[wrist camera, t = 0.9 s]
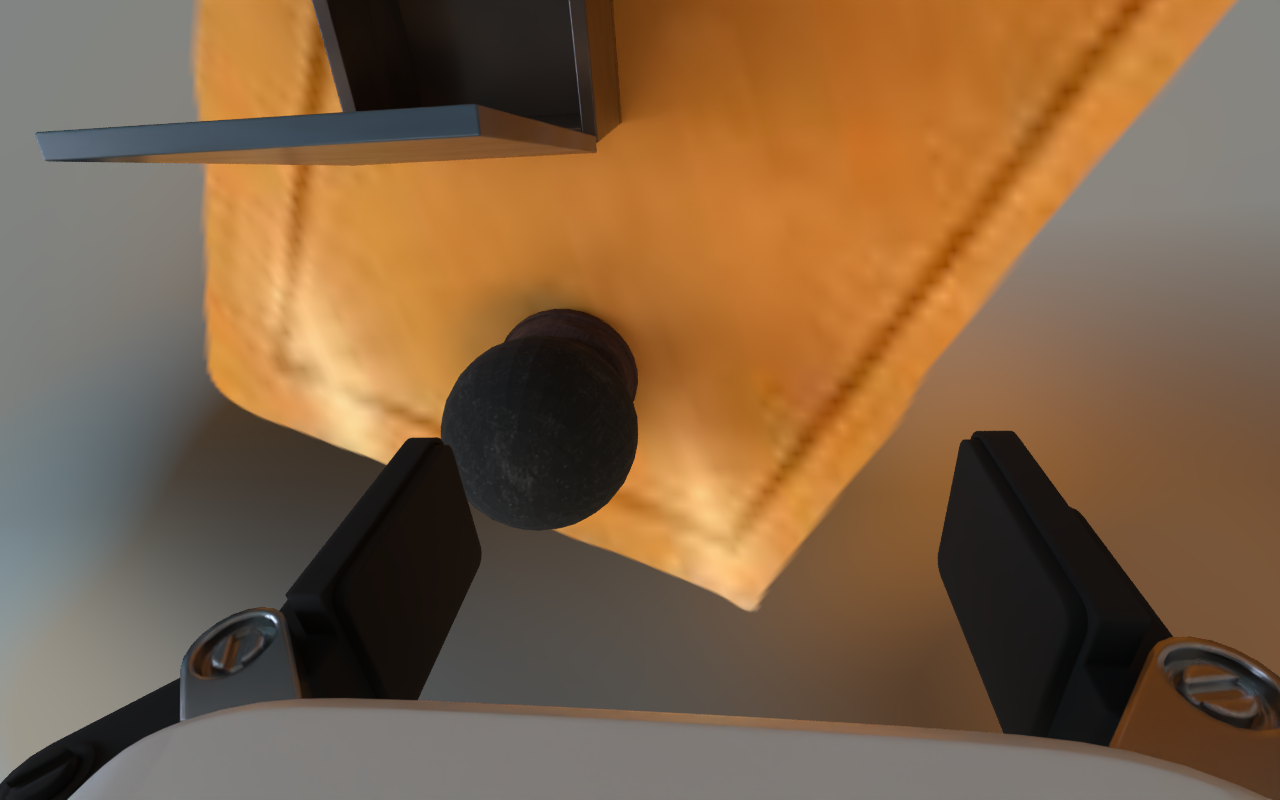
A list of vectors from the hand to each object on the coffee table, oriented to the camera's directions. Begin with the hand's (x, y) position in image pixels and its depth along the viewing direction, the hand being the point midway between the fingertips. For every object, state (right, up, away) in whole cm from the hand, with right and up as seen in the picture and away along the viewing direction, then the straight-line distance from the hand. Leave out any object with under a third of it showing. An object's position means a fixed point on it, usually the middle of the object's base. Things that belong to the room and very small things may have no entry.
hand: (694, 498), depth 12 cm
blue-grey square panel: (-11, +12, +13) cm, 21 cm away
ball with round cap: (-7, +4, +38) cm, 39 cm away
